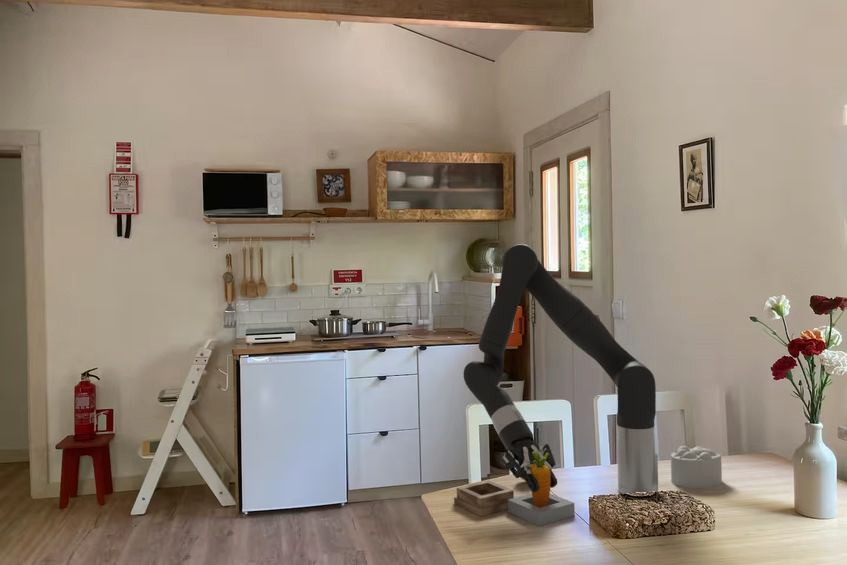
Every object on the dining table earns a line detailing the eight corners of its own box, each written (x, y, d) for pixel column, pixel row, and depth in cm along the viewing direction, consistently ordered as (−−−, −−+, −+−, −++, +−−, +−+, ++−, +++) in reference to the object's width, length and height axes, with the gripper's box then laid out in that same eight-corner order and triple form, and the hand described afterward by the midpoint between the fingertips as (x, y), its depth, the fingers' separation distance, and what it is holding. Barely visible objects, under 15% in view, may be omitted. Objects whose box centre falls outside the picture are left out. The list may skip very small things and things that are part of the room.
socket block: (542, 502, 167) (542, 490, 167) (574, 515, 157) (574, 502, 157) (508, 512, 161) (507, 499, 161) (539, 526, 151) (538, 512, 151)
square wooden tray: (489, 494, 173) (488, 479, 173) (516, 506, 164) (516, 490, 164) (454, 503, 168) (453, 487, 168) (480, 516, 158) (480, 499, 158)
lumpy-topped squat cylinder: (727, 483, 178) (726, 450, 178) (690, 490, 173) (689, 457, 172) (697, 472, 187) (696, 441, 187) (661, 479, 182) (660, 447, 182)
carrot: (553, 511, 161) (551, 448, 160) (550, 518, 156) (548, 454, 156) (532, 509, 162) (530, 447, 162) (528, 516, 157) (527, 453, 157)
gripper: (495, 423, 161) (529, 485, 151) (540, 414, 169) (576, 474, 159) (482, 440, 166) (515, 502, 156) (526, 431, 173) (560, 490, 163)
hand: (545, 487), depth 157 cm, fingers closed on carrot, 5 cm apart
